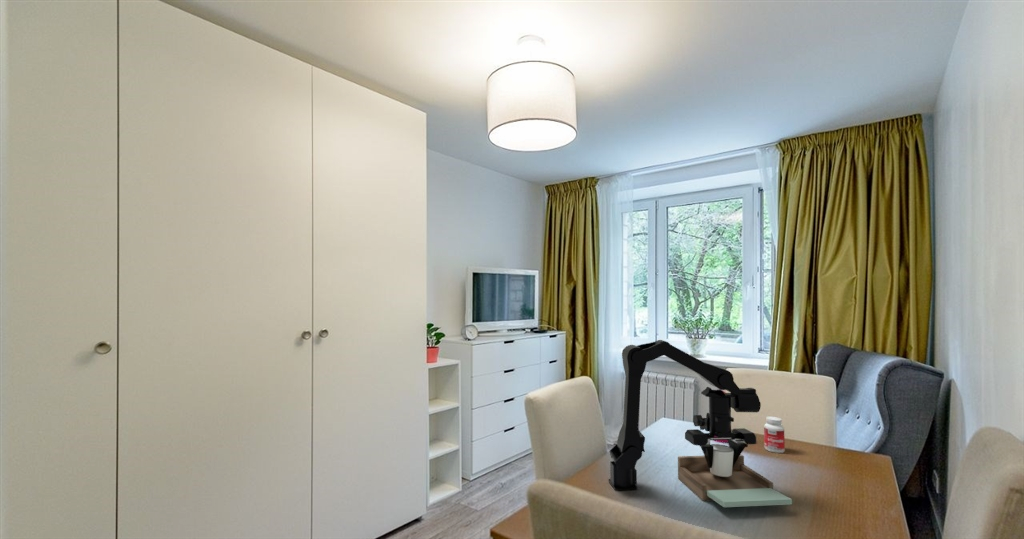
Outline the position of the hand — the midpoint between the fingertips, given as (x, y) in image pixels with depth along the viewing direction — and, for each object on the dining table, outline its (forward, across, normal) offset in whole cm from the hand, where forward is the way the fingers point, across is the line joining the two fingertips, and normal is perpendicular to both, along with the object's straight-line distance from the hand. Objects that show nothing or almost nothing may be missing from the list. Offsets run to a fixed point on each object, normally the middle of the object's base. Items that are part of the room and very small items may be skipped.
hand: (720, 467), depth 127 cm
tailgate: (+3, 0, +8) cm, 9 cm away
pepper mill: (+6, -22, -38) cm, 44 cm away
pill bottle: (+6, -35, -26) cm, 44 cm away
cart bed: (+5, 0, +1) cm, 5 cm away
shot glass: (+2, 0, 0) cm, 2 cm away
